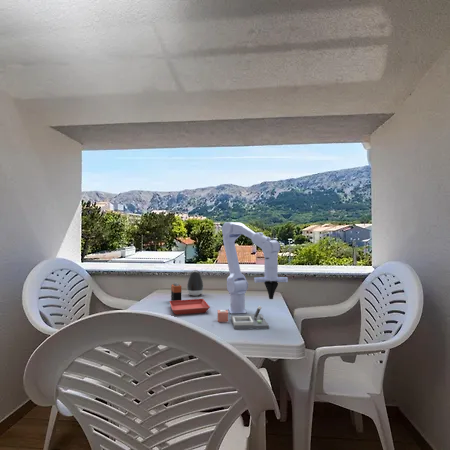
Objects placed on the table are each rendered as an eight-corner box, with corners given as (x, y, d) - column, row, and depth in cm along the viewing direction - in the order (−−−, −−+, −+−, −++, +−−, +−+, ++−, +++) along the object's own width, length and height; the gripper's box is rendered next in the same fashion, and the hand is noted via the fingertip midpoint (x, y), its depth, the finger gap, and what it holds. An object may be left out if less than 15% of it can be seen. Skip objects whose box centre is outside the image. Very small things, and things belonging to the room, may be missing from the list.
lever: (252, 317, 128) (258, 305, 129) (255, 318, 128) (260, 306, 129) (253, 318, 126) (259, 306, 126) (256, 320, 126) (261, 307, 126)
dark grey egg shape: (204, 293, 184) (204, 269, 184) (201, 296, 173) (202, 271, 174) (188, 292, 185) (189, 268, 185) (185, 296, 174) (185, 271, 175)
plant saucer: (172, 316, 135) (172, 309, 135) (169, 306, 152) (169, 300, 152) (210, 314, 140) (210, 307, 140) (203, 304, 157) (203, 298, 157)
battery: (178, 299, 166) (178, 282, 167) (181, 302, 160) (181, 284, 160) (171, 300, 165) (171, 282, 165) (173, 303, 158) (173, 284, 159)
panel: (230, 317, 133) (230, 311, 133) (261, 316, 134) (261, 311, 134) (234, 329, 117) (234, 323, 117) (268, 328, 118) (268, 322, 118)
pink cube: (217, 318, 131) (217, 309, 131) (227, 318, 131) (227, 309, 132) (217, 322, 127) (218, 312, 127) (228, 321, 127) (228, 312, 127)
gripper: (256, 269, 123) (256, 301, 123) (289, 268, 124) (289, 300, 124) (253, 266, 130) (253, 297, 130) (285, 266, 131) (285, 296, 131)
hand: (270, 298), depth 128 cm, fingers closed
